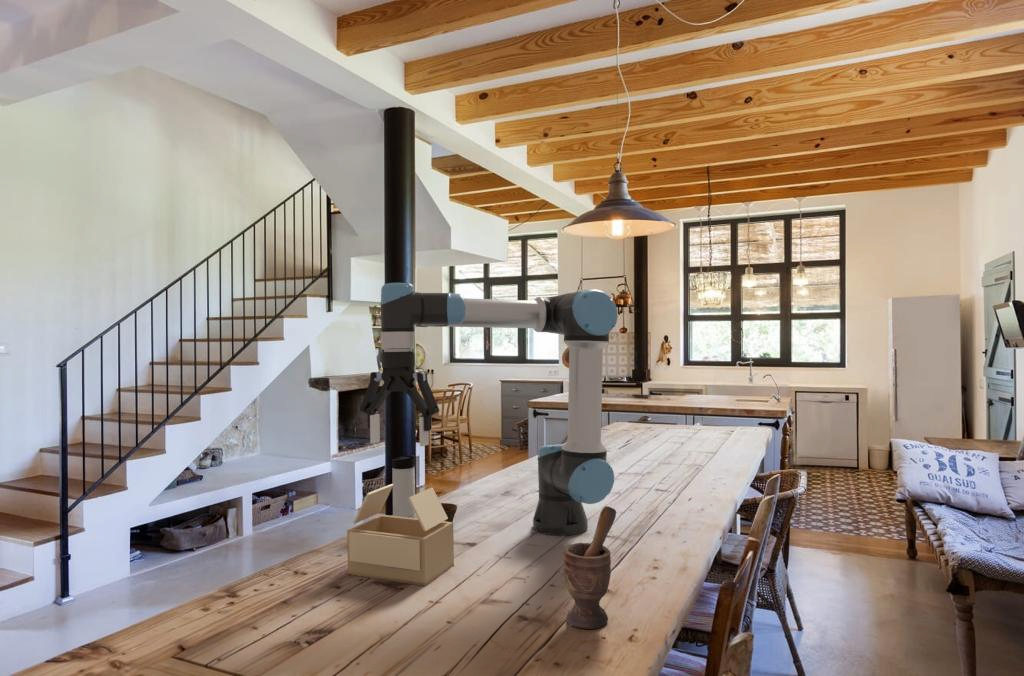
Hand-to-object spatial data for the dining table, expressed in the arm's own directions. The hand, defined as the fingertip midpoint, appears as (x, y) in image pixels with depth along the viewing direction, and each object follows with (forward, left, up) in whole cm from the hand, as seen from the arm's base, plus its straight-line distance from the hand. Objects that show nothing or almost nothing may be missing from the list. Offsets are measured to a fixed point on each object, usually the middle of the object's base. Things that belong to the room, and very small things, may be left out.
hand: (399, 444), depth 143 cm
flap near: (-10, 0, -18) cm, 20 cm away
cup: (+1, -20, -29) cm, 35 cm away
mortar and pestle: (-47, +9, -29) cm, 56 cm away
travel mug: (+18, -30, -29) cm, 45 cm away
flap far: (+9, 0, -18) cm, 20 cm away
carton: (0, 0, -29) cm, 29 cm away
